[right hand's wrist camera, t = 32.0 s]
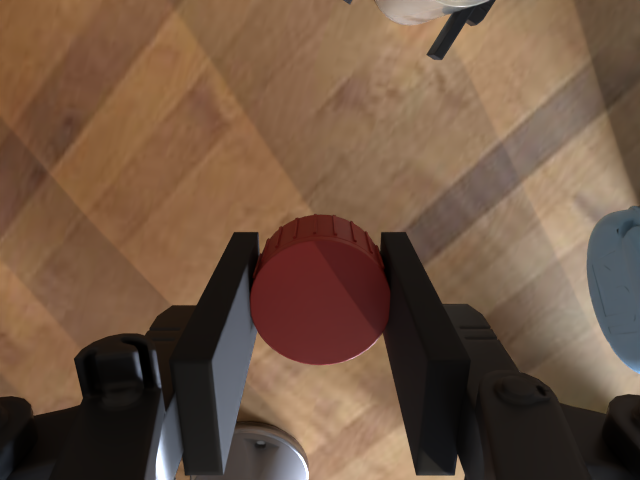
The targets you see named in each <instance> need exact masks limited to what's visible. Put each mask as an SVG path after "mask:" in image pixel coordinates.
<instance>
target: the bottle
mask: <svg viewBox="0 0 640 480" xmlns="http://www.w3.org/2000/svg"><path fill="white" fill-rule="evenodd" d="M487 1H489V0H375V2H376V4H377V6H378V7H379V9H380V10H381V12H382V13H383V14H384V15H385V16H387V17H388V18H389V19H391V20H392V21H394V22H397V23H399V24H404V25H417V24H421V23H424V22H427V21H430V20H433V19H436V18H439V17H442V16H445V15H448V14H451V13H454V12H457V11H460V10H463V9H466V8H469V7H472V6H475V5H478V4H481V3H484V2H487Z"/></svg>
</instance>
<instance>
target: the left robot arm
mask: <svg viewBox="0 0 640 480" xmlns="http://www.w3.org/2000/svg"><path fill="white" fill-rule="evenodd" d="M344 1H345V2H347V3H348V4H350V3H351V2H352V0H344ZM494 2H495V0H489V1H487V2H484V3H481V4H478V5H475V6H472V7H469V8H466V9H463V10H460V11H457V12H454V13H452V14H451V16H450V17H449V19H448V21H447V22H446V24H445V26H444V27H443V29H442V30H441V32H440V34H439V35H438V37H437V39H436V40H435V42H434V43H433V45H432V47H431V48H430V50H429V51H428V53H427V55H428V56H429V57H431V58H432V59H434V60H442V59H443V58H444V56H445V54H446V53H447V51H448V50H449V48H450V46H451V45H452V43H453V42H454V40H455V39H456V37H457V35H458V34H459V32H460V31H461V29H462V27H463V26H464V24H465V23H467V24H469V25H470V26H474V25H477V24H479V23H480V22H481V21H482V20H483V19H484V17H485V16H486V14H487V13H488V11H489V10H490V8H491V7H492V5H493V4H494ZM587 278H588V286H589V291H590V296H591V301H592V304H593V308H594V311H595V314H596V317H597V320H598V322H599V325H600V327H601V329H602V332H603V334H604V336H605V337H606V339H607V341H608V342H609V343H610V345H611V347H612V349H613V351H614V352H615V353H616V355H617V356H618V357H619V358H620V359H621V360H622V361H623V362H624V363H625V364H626V365H627V366H628V367H629V368H631V369H632V370H634V371H635V372H637V373H639V374H640V206H632V207H630V208H629V209H628V210H623V211H617V212H613V213H610V214H608V215H606V216H604V217H603V218H602V219H601V220H600V221H599V222H598V223H597V224H596V226H595V227H594V229H593V231H592V233H591V236H590V239H589V243H588V249H587Z"/></svg>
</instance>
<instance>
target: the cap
mask: <svg viewBox="0 0 640 480" xmlns="http://www.w3.org/2000/svg"><path fill="white" fill-rule="evenodd" d="M384 269H385V267H384V264H383V261H382V257H381V254H380V251H379V248H378V246H377V245H376V246H375V244H374V242H373V241H372V239H371V238H370V237H369V236H368V233H367V232H366V231H365V232H364V231H363V230H362V229H361V228H360V227H358V226H357V225H355V224H354V223H353V222H352V221H348V220H345V219H342V218H339V217H336V215H333V216H331V215H317V214H314V215H311V216H305V217H302V218H296V219H295V220H293V221H291V222H289V223H287V224H286V225H284V226H283V227H282V226H281V227H279V230H278V231H277V232H275V234H274V235H273V236H272V237H271V238H270V239H269V238H268V239H267V242H266V245H265V248H264V250H263V252H262V254H261V253H260V255H259V258H258V261H257V264H256V267H255V270H254V273H253V276H252V278H254V281H253V284H252V287H251V292H250V312H251V317H252V320H253V323H254V325H255V327H256V329H257V331H258V333H259V334H260V336H261V337H262V338H263V340H264V341H265V342H266V343H267V344H268V345H269V346H270V347H271V348H272V349H274V350H275V351H277V352H278V353H279V354H281V355H283V356H285V357H287V358H289V359H291V360H294V361H297V362H300V363H305V364H311V365H330V364H336V363H340V362H344V361H347V360H350V359H352V358H354V357H356V356H358V355H360V354H362V353H363V352H364V351H366V350H367V349H369V348H370V347H371V346H372V345H373V344H374V343H375V342H376V341H377V340H378V338H379V337H380V336H381V334H382V333H383V331H384V329H385V327H386V325H387V323H388V320H389V308H390V287H389V284H388V281H387V278H386V274H385V271H384Z"/></svg>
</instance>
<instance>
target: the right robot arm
mask: <svg viewBox="0 0 640 480" xmlns="http://www.w3.org/2000/svg"><path fill="white" fill-rule="evenodd" d="M380 254H381V257H382V261H383V264H384V267H385V269H384V271H385V274H386V278H387V281H388V284H389V287H390V308H389V320H388V323H387V325H386V327H385V329H384V331H383V335H384V340H385V344H386V348H387V353H388V357H389V361H390V365H391V370H392V374H393V378H394V382H395V387H396V391H397V395H398V400H399V404H400V408H401V412H402V417H403V421H404V425H405V429H406V434H407V438H408V442H409V446H410V451H411V455H412V459H413V464H414V468H415V472H416V475H455V469H456V462H457V455H458V456H459V459H460V462H461V465H462V468H463V470H464V473H465V478H464V480H640V395H631V394H627V395H622V396H617V397H615V398H614V399H613V400H612V401H611V402H610V403H609V407H608V410H607V414H604V413H600V412H595V411H590V410H586V409H581V408H576V407H572V406H569V405H565V404H561V403H559V401H558V399H557V397H556V396H555V394H554V393H553V391H552V390H551V389H550V388H549V387H548V386H547V385H545V384H544V383H543V382H541V381H540V380H539V379H536V378H534V377H532V376H530V375H527V374H525V373H521V372H519V370H518V368H517V367H516V365H515V364H514V362H513V361H512V359H511V358H510V356H509V355H508V353H507V352H506V350H505V348H504V347H503V345H502V344H501V342H500V341H499V340H497V336H496V335H495V333H494V332H493V330H492V329H490V325H489V324H488V322H487V321H486V319H485V318H484V316H483V315H482V314H481V313H480V312H478V311H477V310H475V309H474V308H472V307H471V306H470V305H468V304H442V302H441V300H440V298H439V297H438V295H437V293H436V291H435V289H434V287H433V285H432V283H431V281H430V279H429V277H428V275H427V273H426V271H425V269H424V267H423V265H422V263H421V261H420V259H419V257H418V255H417V254H416V252H415V250H414V248H413V246H412V244H411V242H410V240H409V238H408V236H407V234H406V232H381V248H380ZM259 255H260V254H259V235H258V232H234V233H233V235H232V237H231V239H230V241H229V243H228V245H227V247H226V249H225V251H224V253H223V255H222V257H221V259H220V261H219V263H218V265H217V267H216V269H215V270H214V272H213V274H212V276H211V278H210V280H209V282H208V284H207V286H206V288H205V290H204V292H203V294H202V296H201V298H200V300H199V302H198V304H197V305H172V306H171V307H170V308H168V309H167V310H165V311H164V312H162V313H161V314H160V315H158V316H157V318H156V319H155V321H154V322H153V324H152V325H151V327H150V330H149V331H147V333H146V335H145V336H144V335H141V334H118V335H113V336H108V337H105V338H103V339H100V340H98V341H95V342H93V343H91V344H90V345H88V346H87V347H85V348H84V349H82V350H81V351H80V352H79V353H78V355H77V356H76V357H75V358H74V361H75V365H76V370H77V374H78V378H79V383H80V387H81V391H82V396H83V400H82V402H81V404H80V405H78V406H75V407H71V408H68V409H63V410H59V411H54V412H50V413H45V414H40V415H36V416H34V415H33V411H32V408H31V405H30V404H29V403H28V402H27V401H26V400H25V399H23V398H18V397H13V396H10V397H0V480H176V478H175V475H176V472H177V469H178V466H179V463H180V460H181V458H182V457H183V464H184V471H185V475H190V480H308V459H307V456H306V454H305V452H304V450H303V448H302V447H301V445H300V444H299V443H298V442H297V441H296V440H295V439H294V438H293V437H292V436H291V435H289V434H288V433H286V432H284V431H283V430H281V429H279V428H276V427H274V426H271V425H267V424H263V423H258V422H237V423H236V420H237V415H238V411H239V407H240V402H241V398H242V394H243V390H244V385H245V381H246V377H247V373H248V368H249V364H250V360H251V356H252V351H253V347H254V343H255V338H256V334H257V329H256V327H255V325H254V323H253V320H252V317H251V312H250V292H251V287H252V284H253V281H254V278H252V276H253V273H254V270H255V267H256V264H257V261H258V258H259Z"/></svg>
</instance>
